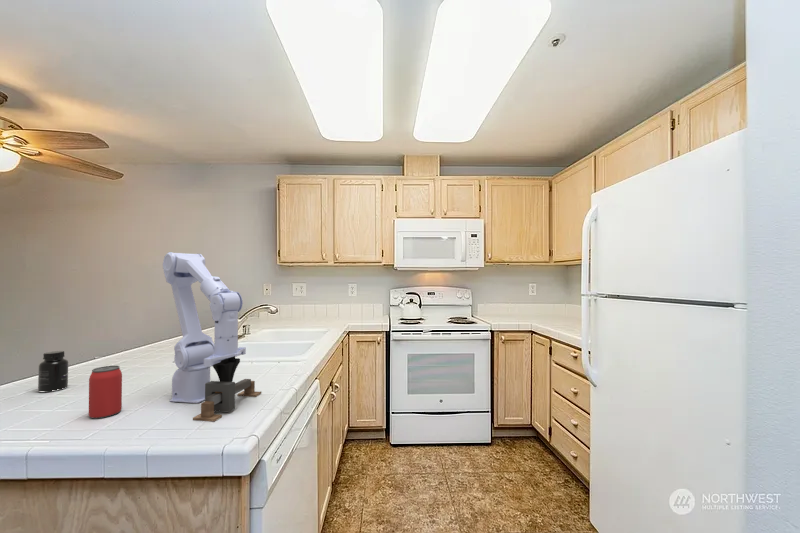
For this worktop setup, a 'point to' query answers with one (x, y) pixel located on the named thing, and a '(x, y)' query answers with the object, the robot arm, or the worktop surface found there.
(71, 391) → the worktop surface
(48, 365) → the supplement bottle
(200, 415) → the square bar stand
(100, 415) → the beer can
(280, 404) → the worktop surface
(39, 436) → the worktop surface
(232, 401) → the collar
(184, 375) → the robot arm
